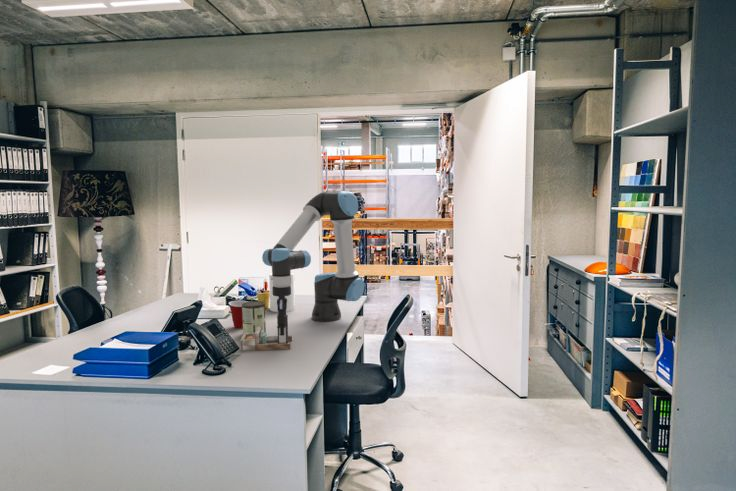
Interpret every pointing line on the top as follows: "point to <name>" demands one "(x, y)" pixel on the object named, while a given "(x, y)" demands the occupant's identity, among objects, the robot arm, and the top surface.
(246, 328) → the coffee can
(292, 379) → the top surface
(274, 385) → the top surface
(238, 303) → the plastic cup
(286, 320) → the striker
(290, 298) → the canister
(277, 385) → the top surface
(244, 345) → the lane
